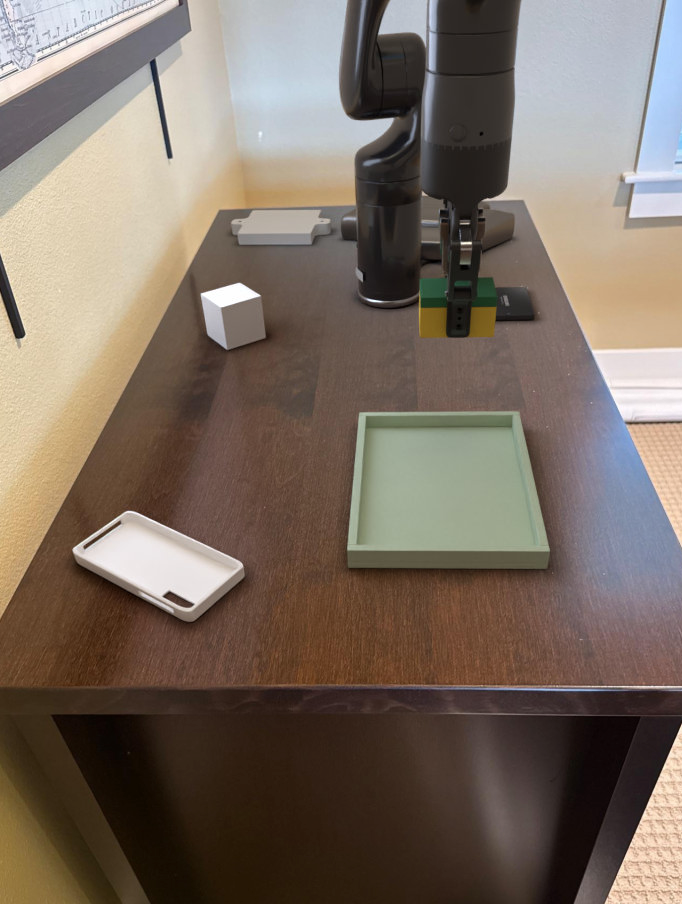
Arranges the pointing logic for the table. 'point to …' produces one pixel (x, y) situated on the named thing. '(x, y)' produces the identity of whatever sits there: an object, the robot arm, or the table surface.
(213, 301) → the white cube
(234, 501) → the table surface
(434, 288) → the sponge
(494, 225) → the grey contoured platform
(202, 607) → the phone case
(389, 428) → the tray
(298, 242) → the mounting plate
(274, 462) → the table surface
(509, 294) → the solid state drive
